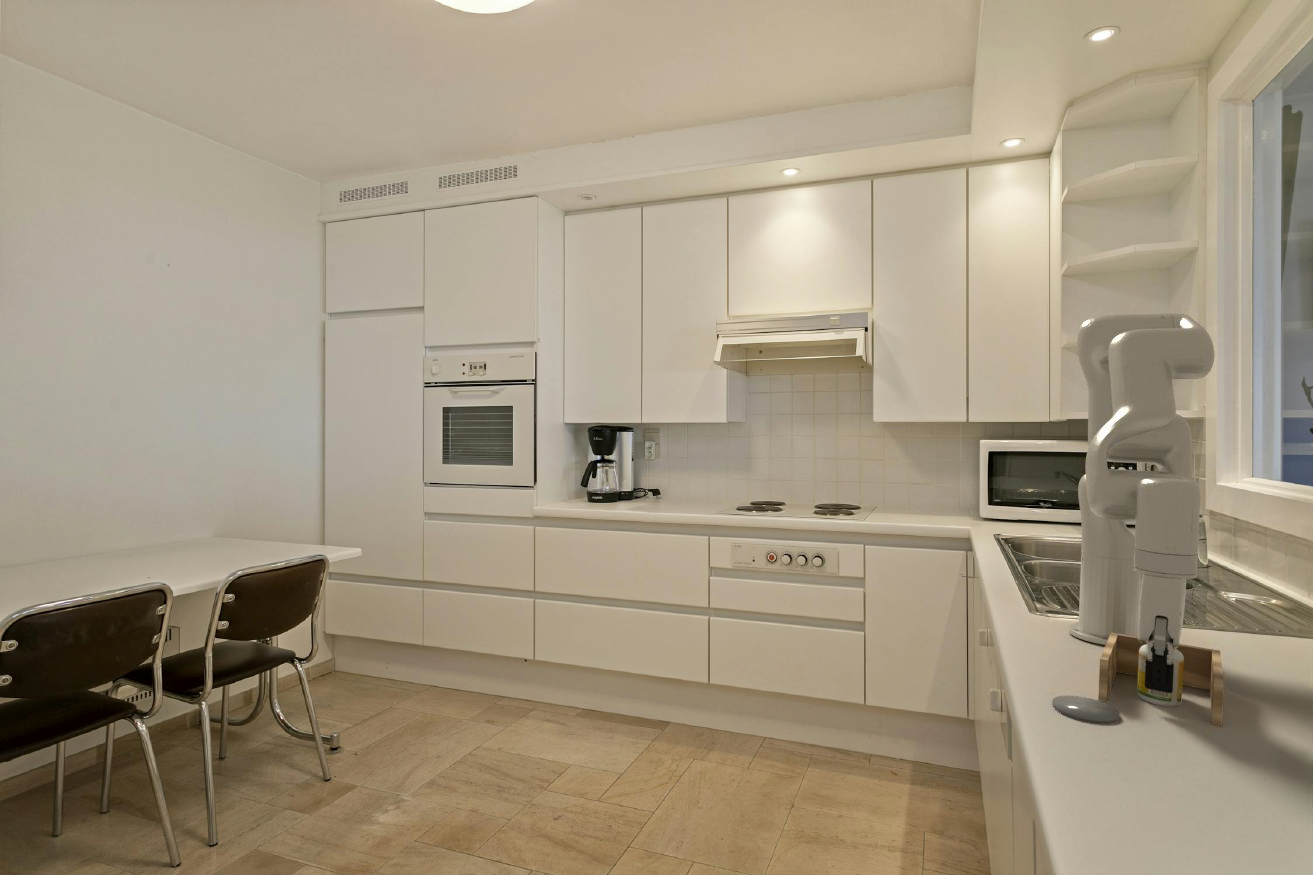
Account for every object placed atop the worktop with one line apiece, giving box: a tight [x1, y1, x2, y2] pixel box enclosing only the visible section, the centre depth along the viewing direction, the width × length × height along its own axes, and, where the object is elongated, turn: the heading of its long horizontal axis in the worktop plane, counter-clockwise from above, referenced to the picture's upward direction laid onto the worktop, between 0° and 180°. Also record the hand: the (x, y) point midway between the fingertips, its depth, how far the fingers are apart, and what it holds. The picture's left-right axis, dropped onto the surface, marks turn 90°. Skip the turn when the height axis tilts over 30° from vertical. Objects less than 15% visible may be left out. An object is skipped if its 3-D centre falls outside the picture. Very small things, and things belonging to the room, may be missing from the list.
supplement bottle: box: [1136, 635, 1184, 707], centre depth 104 cm, size 5×5×10 cm
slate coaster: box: [1051, 695, 1120, 724], centre depth 100 cm, size 8×8×1 cm
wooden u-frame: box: [1097, 632, 1224, 727], centre depth 106 cm, size 17×14×6 cm
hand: (1159, 680), depth 104 cm, fingers open, 9 cm apart
